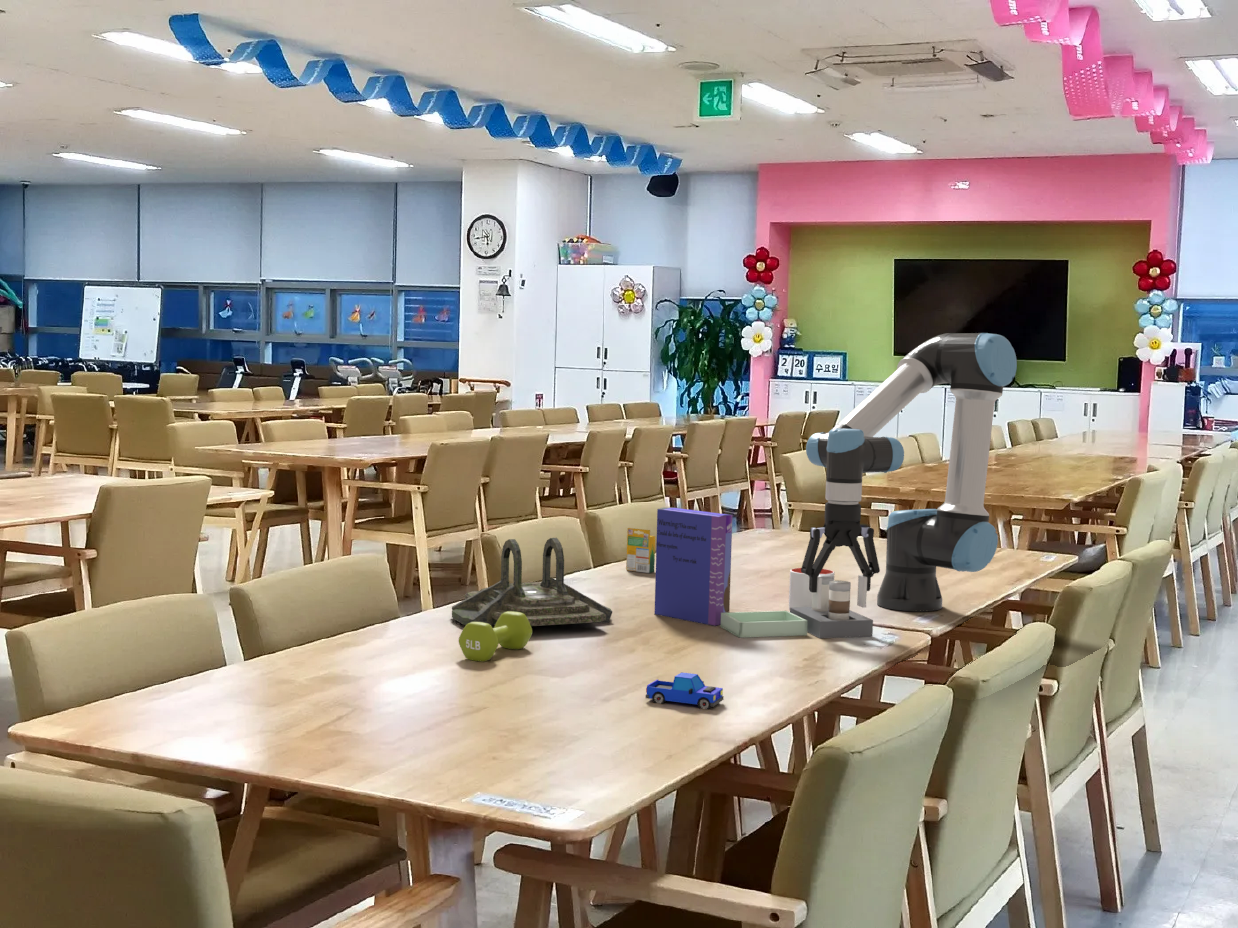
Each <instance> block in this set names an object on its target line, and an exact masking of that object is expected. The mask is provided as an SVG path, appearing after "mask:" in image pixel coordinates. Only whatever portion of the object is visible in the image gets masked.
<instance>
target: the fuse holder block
mask: <svg viewBox="0 0 1238 928" xmlns="http://www.w3.org/2000/svg"><path fill="white" fill-rule="evenodd" d="M818 577H820V578H822V588H821V609H816V608H814V607H790V610H789V612H790V613H793V614H795V615H797V616H799V617H801V618H803V619H805V620H807V621H808V622H807V634H810V635H812V636H814V637H817V638H818V639H839V638H863V637H873V635H874V634H873V630H874V629H873V628H874V620H873V619H872V618H868V617H867V616H865V615H862V614H860V613H857V612H855V611H853V610H851V609H850V612H849V620H830V619H828V608H829V582H830V581H835V575H834V576H833V575H829V574H819V576H818ZM812 597H813V593H812Z"/></svg>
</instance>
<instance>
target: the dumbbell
mask: <svg viewBox="0 0 1238 928" xmlns="http://www.w3.org/2000/svg"><path fill="white" fill-rule="evenodd" d="M532 634H533V628H532V626H531V625H530V623H529V621H528V619H527V617H526V615H525V614H523V613H520V612H513V611H507V612H504V613H503V614H501V616H500V617H499V619H498V620H497V622H496V624H495V625H490V624H488V623H483V622H471V623H468V624H467V625H465V626H464V627H463V629H462V630H461V633H460V635H459V637H458V645H459V647H460V649H461V652H462V654H463V656H464V658H465V659H467V660H468V661H473V662H481V663H482V662H483V663H484V662H488V661H489V660H491V658H492V657H493V656H494V654H495V652H496V650H497V648H498V646H499V645H500V647H502V648H503V649H507V650H516V651H517V650H518V651H519V650H521V649H523V648H525V647H526V646H527V644H528V642H529V641H530V639H531V637H532Z"/></svg>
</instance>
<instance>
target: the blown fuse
mask: <svg viewBox="0 0 1238 928" xmlns="http://www.w3.org/2000/svg"><path fill="white" fill-rule="evenodd" d="M851 587H852V585H851V581H847V580H835V579H834V581H830V582H829V608H828V619H830V620H849V612H850V610H851V608H850V607H851V589H852V588H851Z"/></svg>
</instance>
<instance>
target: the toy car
mask: <svg viewBox="0 0 1238 928" xmlns="http://www.w3.org/2000/svg"><path fill="white" fill-rule="evenodd" d="M645 693H646V694H645V699H648V700H649V699H650V700H652V702H653V704H661V705H664V704H665V703H666V702H674V703H675V702H676V703H681V704H690V705H691V704H692V705H697V707H698V709H700V710H703V709H705V710H707V711H708V710H710V709H711V708H712V707H713V708H714V707H715V706H717V705H718V704H720V703H721V702H722V701H724V696H723V695H724V694H723V693H724V689H723V687H717V686H707V685H705V681H703V680H702V678H701V677H700V675H699V674H698V673H691V672H690V673H689V672H680V673H678V674H676V675H674V678H673V681H667V680H659V679H655V680H654V681H652V682H650V683H649V684H647V685H646V688H645Z"/></svg>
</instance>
